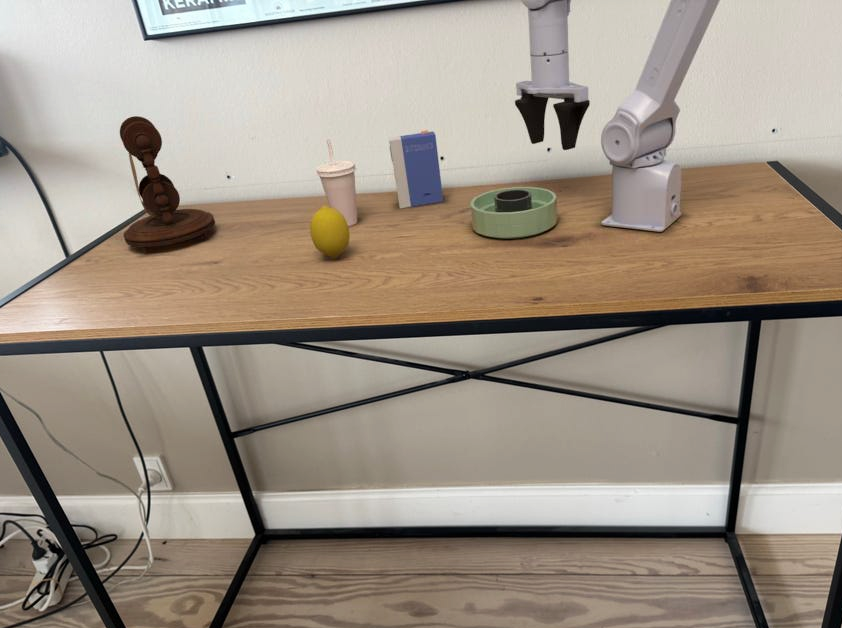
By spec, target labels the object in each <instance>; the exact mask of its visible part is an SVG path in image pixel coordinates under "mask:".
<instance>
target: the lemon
mask: <svg viewBox="0 0 842 628" xmlns="http://www.w3.org/2000/svg"><path fill="white" fill-rule="evenodd" d="M309 230H310V232H309V233H310V238H311V241H312V243H313V245H314V247H315V249H316V250H317V251H319V252H320V253H321V254H323V255H325V256H329V257H330V258H331V259H337V258H338V257H339V256H340V255H341V254H342V253H343V252H345V250H346V249H347V248H348V245H349V244H350V243H349V242H350V229H349V226H348V225H347V222H346V220H345V218H344V216H343V215H342V214H341V213H340V212H339V211H338V210H336V209H333V208H330V206H329V205H322V206H321V208H320V209H318V210H316V211H315V212H314V214H313V216H312V217H311V220H310V225H309Z"/></svg>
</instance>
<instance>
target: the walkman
mask: <svg viewBox="0 0 842 628" xmlns="http://www.w3.org/2000/svg"><path fill="white" fill-rule="evenodd" d="M436 135H437V134H436V132H434V131H429V130H428V129H427V130H421V131H420V133H412V134H404V135H398V136H391V137H389V140H388V144H389V152H390V153H389V154H390V158H391V159H390V160H391V162H392V167H393V176H394V180H395V187H396V193H397V200H398V205H399V209H405V208H412V207H418V206H425V205H431V204H437V203H443V202H444V195H443V187H442V186H443V185H442V178H441V177H442V176H441V170H440V161H439V152H438V145H437V137H436Z"/></svg>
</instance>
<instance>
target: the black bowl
mask: <svg viewBox="0 0 842 628" xmlns="http://www.w3.org/2000/svg"><path fill="white" fill-rule="evenodd" d="M494 203H495V212H519V211H526V210H530V209H532V193H531V192H530V191H527V190H507V191H503V192H499V193H497V194H496V195H495V196H494Z"/></svg>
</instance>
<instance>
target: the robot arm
mask: <svg viewBox="0 0 842 628" xmlns="http://www.w3.org/2000/svg"><path fill="white" fill-rule="evenodd" d="M520 1H521V3H522V4H523V5H524V6H525V7H526V8H527V19H528V36H529V37H528V38H529V55H530V77H531V78H530V79H531V80H522V81H517V82H516V83H515V88H516V89H515V90H516V96H519V97H520V98H518V99H515V100H514V105H515V107H516V108H517V110H518V112H519V113H520V115H521V117H522V119H523V122H524V124H525V127H526V130H527V133H528V137H529V140H530V143H531V144H532V145H536V144H539V143H542V142H544V140H545V119H546V111H547V106H548V102H549V99H556V100H563V101H561V102H556V103H553V104H552V107H553V109H554V112H555V115H556V118H557V121H558V124H559V132H560V144H561V149H562V150H563V151H569V150H571V149H575V148H576V145H577V140H578V136H579V131H580V128H581V125H582V122H583V119H584V117H585V114H586V112H587V110H588V109H589V107H590V106H591V105H590V103H591V101H590V100H589V86H586V85H582V84H577V83H574V82H571V81H570V57H569V19H568V18H569V15H570V13H571V3H572V0H520ZM720 1H721V0H670V2H669V4H668V7H667V9H666V11H665V14H664V16H663V19H662V21H661V23H660V26H659V28H658V31H657V34H656V36H655V39H654V42H653V44H652V46H651V49H650V51H649V54H648V56H647V58H646V61H645V63H644V66H643V68H642V71H641V74H640V76H639V79H638V81H637V84H636V86H635V88H634V90H633V91H632V92H631V94H629V95H628V97H626V98H625V99H624V100H623V101H622V102H621V103H620V104H619V106H617V109H616V112H615V114H614V115H613V117H612V118H611V119H610V120H609V121H608V122H607V123H606V124H605V125H604V126H603V128H602V131H601V135H600V136H601V137H600V144H601V149H602V152H603V154H604V156H605V157H606V159H607V160H609V165H610V166H611V214H610V215H609V216H607V217H606V218H605V219H603V220H602V221H601V226H604V227H605V226H607V227H615V228H624V229H632V230H641V231H648V232H649V231H650V232H658V233H662V232H664V231H665V230H666V229H667V228H669V226H671V225H672V224H673V223H674V222H675V221H676V220H677V219H679V218H680V217H681V216H682V212H681V198H682V197H681V195H682V194H681V193H682V168H681V166H680V164H678V163H675V162H671V161H670V162H669V161H667V160H665V157H666V156H667V148H669V147H670V146H671V144H672V143H673V141H674V139H675V136H676V125H677V119H678V116H679V114H680V111H681V108H680V107H679V106H678V104H677V102H676V98H677V95H678V93H679V91H680V89H681V86H682V85H683V83H684V80H685V77H686V75H687V74H688V71H689V69H690V67H691V65H692V62H693V60H694V59H695V57H696V54H697V52H698V49H699V47H700V45H701V43H702V40H703V39H704V36H705V33H706V32H707V30H708V28H709V25H710V23H711V21H712V19H713V16H714V14H715V12H716V11H717V7H718V5H719V4H720Z"/></svg>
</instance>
